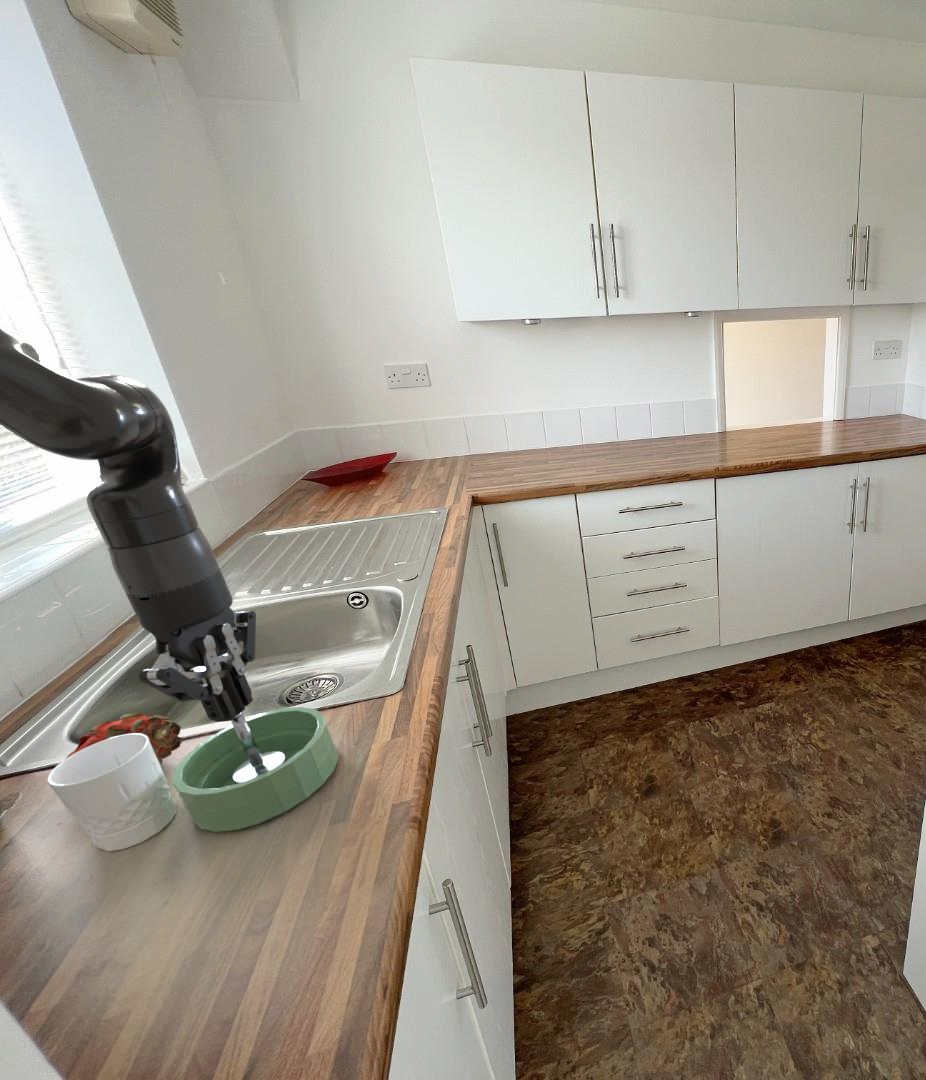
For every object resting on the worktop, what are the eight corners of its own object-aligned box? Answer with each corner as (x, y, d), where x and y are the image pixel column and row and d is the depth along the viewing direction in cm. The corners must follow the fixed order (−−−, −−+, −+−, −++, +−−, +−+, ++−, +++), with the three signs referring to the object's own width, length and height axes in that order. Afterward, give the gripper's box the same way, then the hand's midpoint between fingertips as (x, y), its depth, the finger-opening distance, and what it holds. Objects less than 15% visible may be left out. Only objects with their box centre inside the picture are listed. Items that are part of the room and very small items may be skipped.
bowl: (159, 840, 64) (136, 799, 62) (251, 748, 78) (235, 711, 76) (293, 830, 65) (274, 788, 63) (361, 739, 78) (348, 703, 76)
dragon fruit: (206, 760, 78) (90, 816, 73) (189, 708, 81) (76, 757, 76) (171, 744, 72) (40, 804, 66) (154, 687, 75) (27, 740, 69)
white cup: (90, 830, 66) (47, 761, 63) (179, 789, 72) (145, 723, 68) (92, 870, 61) (46, 798, 58) (188, 823, 67) (151, 754, 63)
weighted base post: (227, 797, 68) (175, 691, 63) (258, 765, 73) (212, 663, 67) (272, 794, 68) (224, 687, 63) (299, 762, 73) (258, 660, 67)
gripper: (189, 552, 67) (244, 678, 73) (69, 610, 54) (148, 757, 60) (255, 547, 67) (304, 674, 73) (151, 604, 54) (221, 752, 60)
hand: (233, 711), depth 67 cm, fingers closed on weighted base post
